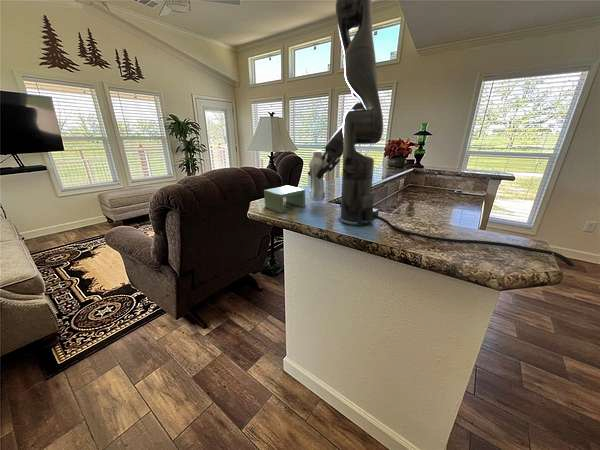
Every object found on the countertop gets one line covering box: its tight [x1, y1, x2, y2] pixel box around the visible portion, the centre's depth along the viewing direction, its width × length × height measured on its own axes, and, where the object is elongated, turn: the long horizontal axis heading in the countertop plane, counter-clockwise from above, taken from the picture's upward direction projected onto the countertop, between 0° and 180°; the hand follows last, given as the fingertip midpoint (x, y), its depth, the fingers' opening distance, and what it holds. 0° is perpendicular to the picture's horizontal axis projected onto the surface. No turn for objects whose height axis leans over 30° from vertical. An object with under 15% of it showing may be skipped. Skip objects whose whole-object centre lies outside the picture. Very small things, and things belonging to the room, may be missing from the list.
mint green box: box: [263, 184, 306, 214], centre depth 93 cm, size 11×12×7 cm
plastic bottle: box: [308, 150, 326, 202], centre depth 95 cm, size 6×7×20 cm
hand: (313, 176), depth 94 cm, fingers closed on plastic bottle, 6 cm apart
